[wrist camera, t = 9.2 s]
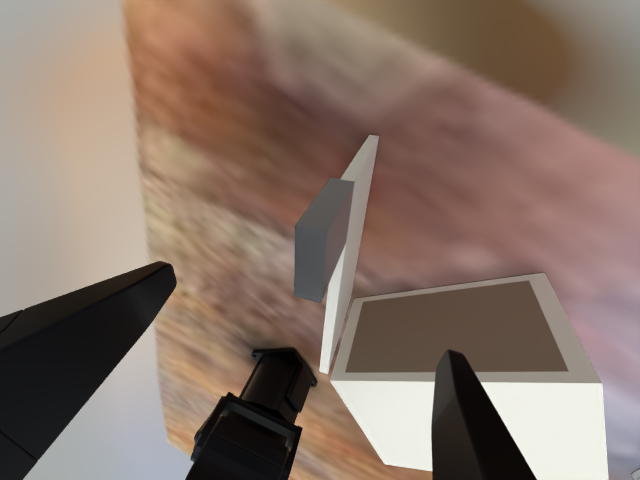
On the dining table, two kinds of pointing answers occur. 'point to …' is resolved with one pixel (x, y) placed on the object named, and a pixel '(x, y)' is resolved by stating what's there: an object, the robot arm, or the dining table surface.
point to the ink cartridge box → (636, 475)
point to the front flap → (334, 244)
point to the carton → (489, 366)
